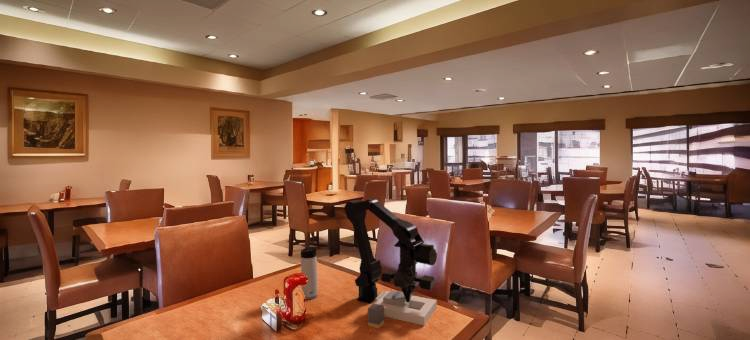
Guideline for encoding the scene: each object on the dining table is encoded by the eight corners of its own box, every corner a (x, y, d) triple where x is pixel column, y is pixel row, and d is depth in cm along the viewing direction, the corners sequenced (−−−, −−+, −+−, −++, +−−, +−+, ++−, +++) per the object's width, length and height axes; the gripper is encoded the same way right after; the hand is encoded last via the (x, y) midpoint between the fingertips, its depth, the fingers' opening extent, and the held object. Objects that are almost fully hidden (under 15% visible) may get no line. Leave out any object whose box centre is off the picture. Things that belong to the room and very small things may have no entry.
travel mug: (315, 300, 135) (313, 250, 134) (299, 299, 137) (297, 249, 135) (320, 293, 142) (319, 246, 140) (305, 292, 143) (304, 245, 142)
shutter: (408, 298, 129) (408, 291, 129) (401, 306, 122) (401, 299, 122) (391, 295, 132) (391, 288, 132) (383, 302, 126) (383, 295, 125)
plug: (368, 325, 116) (367, 308, 115) (373, 320, 119) (373, 303, 119) (378, 328, 114) (378, 310, 114) (384, 322, 117) (383, 305, 117)
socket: (436, 308, 128) (436, 296, 127) (424, 325, 115) (424, 313, 115) (387, 298, 137) (387, 287, 136) (371, 313, 124) (371, 302, 124)
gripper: (374, 263, 121) (375, 306, 122) (425, 271, 113) (425, 317, 114) (387, 254, 131) (388, 294, 132) (435, 260, 122) (435, 303, 124)
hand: (408, 302), depth 125 cm, fingers closed
